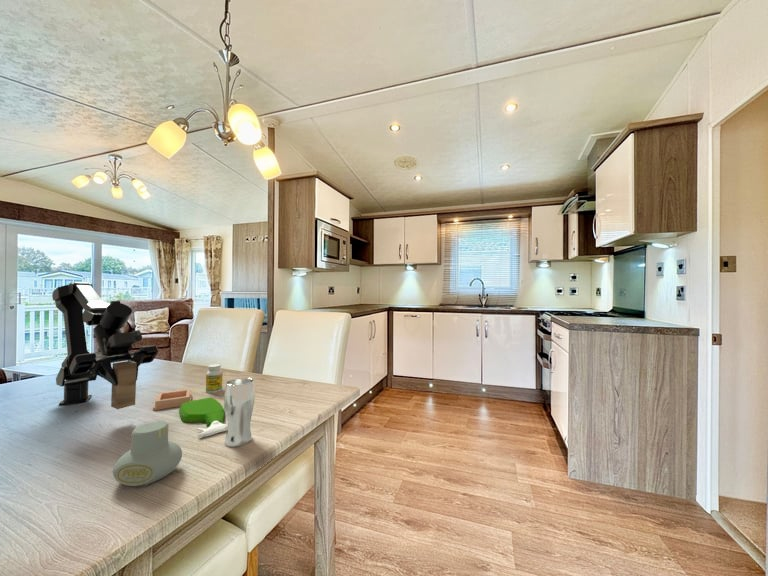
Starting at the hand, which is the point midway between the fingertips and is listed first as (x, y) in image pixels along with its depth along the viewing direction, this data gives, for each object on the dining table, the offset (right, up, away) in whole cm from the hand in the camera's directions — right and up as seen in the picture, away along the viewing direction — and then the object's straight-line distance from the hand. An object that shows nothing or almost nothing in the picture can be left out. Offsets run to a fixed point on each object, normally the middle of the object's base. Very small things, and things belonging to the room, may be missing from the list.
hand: (126, 382), depth 83 cm
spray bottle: (+20, -13, +4) cm, 24 cm away
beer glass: (+36, -12, -9) cm, 39 cm away
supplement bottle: (+8, -12, +29) cm, 32 cm away
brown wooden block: (-1, -7, +1) cm, 7 cm away
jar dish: (+2, -12, +16) cm, 20 cm away
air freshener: (+25, -12, -23) cm, 36 cm away
